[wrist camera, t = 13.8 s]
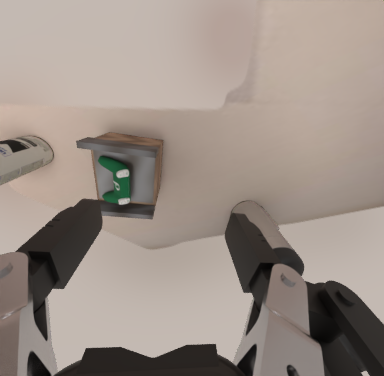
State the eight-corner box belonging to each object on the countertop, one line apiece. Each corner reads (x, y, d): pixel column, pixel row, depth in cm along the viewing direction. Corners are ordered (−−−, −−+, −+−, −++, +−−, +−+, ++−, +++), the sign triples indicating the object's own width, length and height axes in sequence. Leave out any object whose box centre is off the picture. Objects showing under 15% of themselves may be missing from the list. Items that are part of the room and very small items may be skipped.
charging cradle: (163, 138, 36) (156, 152, 25) (159, 190, 42) (152, 219, 31) (108, 129, 34) (74, 141, 23) (112, 185, 41) (87, 214, 30)
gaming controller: (119, 193, 34) (134, 206, 31) (101, 199, 31) (115, 213, 28) (116, 153, 30) (133, 163, 27) (95, 155, 27) (111, 166, 24)
